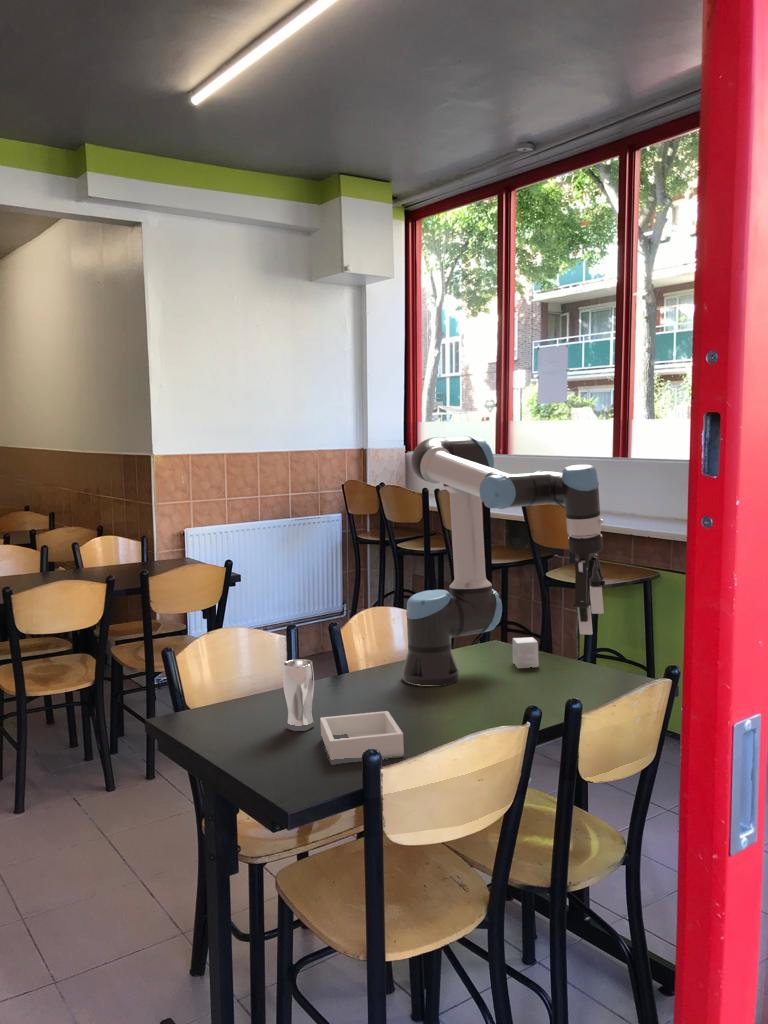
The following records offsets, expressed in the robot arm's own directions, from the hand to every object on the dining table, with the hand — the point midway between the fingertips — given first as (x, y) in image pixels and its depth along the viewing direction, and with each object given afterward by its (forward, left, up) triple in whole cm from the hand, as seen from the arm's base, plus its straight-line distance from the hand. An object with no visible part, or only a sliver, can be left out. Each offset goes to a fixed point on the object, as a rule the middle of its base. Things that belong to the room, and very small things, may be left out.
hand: (592, 623), depth 195 cm
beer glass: (-10, -67, -21) cm, 71 cm away
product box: (-43, 0, -21) cm, 48 cm away
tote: (+7, -56, -21) cm, 60 cm away
